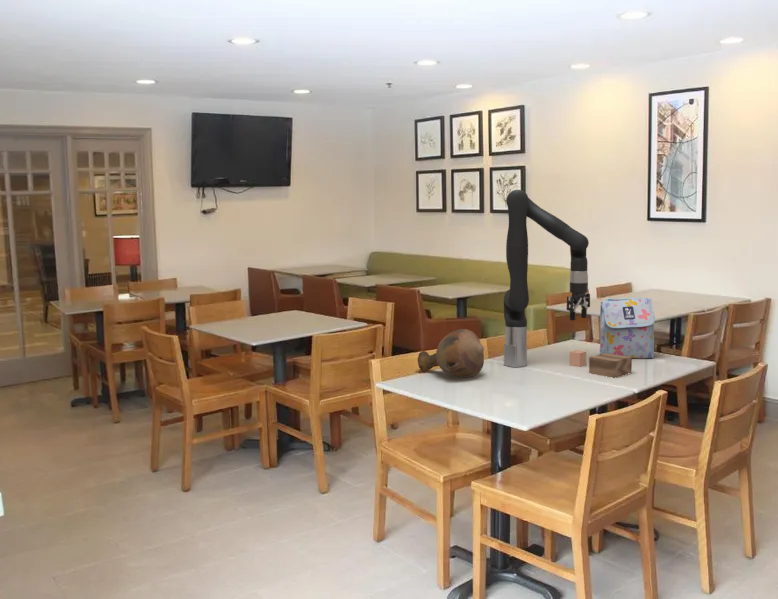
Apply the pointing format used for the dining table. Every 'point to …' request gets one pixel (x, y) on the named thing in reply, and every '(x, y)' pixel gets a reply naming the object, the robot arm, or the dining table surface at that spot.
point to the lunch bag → (627, 327)
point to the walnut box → (610, 365)
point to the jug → (455, 355)
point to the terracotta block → (578, 358)
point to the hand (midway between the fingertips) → (578, 319)
